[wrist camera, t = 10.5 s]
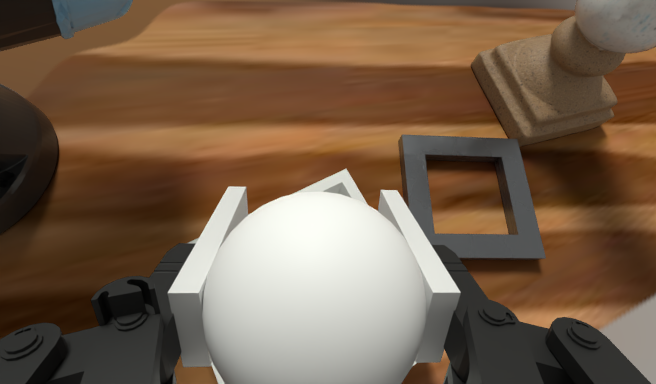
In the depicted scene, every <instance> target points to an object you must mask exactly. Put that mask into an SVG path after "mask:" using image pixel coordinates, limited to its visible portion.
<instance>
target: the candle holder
mask: <svg viewBox="0 0 656 384" xmlns="http://www.w3.org/2000/svg"><path fill="white" fill-rule="evenodd" d="M654 47H656V0H577V1H576V5H575V16H573V17H570V18H568V19H566V20H565V21H563V22H562V23H561V24H560V25H558V26H557V28H556V29H555V30H554V32H553V34H550V35H544V36H538V37H532V38H527V39H522V40H518V41H513V42H509V43H505V44H502V45H500V46H497V47H495V48H494V49H490V50H486V51H482V52H480V53H479V54H478V55H477V57H476V58H475V59H474V61H473V62H472V63H471V68H472V70H473V72H474V74H475V76H476V78H477V80H478V82H479V84H480V86H481V88H482V89H483V91H484V93H485V95H486V97H487V99H488V101H489V103H490V104H491V106H492V108H493V110H494V112H495V114H496V116H497V118H498V120H499V121H500V123H501V125H502V127H503V129H504V131H505V133H506V134H507V136H508V138H509V139H517V140H518V144H519V146H524V145H529V144H534V143H538V142H542V141H546V140H550V139H554V138H558V137H562V136H566V135H570V134H574V133H578V132H582V131H586V130H589V129H592V128H595V127H598V126H600V125H601V124H603V123H604V122H606V121H608V120H609V119H611V118H612V117H614V114H613V111H612V110H611V108H612V107H613V106H614V105H616V104H617V98H616V96H615V94H614V92H613V91H612V89H611V87H610V86H609V84H608V83H607V81H606V80H605V78H604V77H603V75H605V74H607V73H609V72H611V71H613V70H614V69H615V68H616V67H618V66H619V65H620V63H621V62H622V60H623V59H624V56H625V54H626V53H637V52H642V51H646V50H649V49H652V48H654Z"/></svg>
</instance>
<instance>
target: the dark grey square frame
mask: <svg viewBox="0 0 656 384" xmlns="http://www.w3.org/2000/svg"><path fill="white" fill-rule="evenodd" d="M398 142H399V153H400V164H401V175H402V186H403V197H404V202H405V204H406V205H407V207H408V209H409V210H410V212H411V213H412V215H413V217H414V218H415V220H416V221H417V223H418V225H419V226H420V228H421V229H422V231H423V233H424V234H425V236H426V237H427V239H428V241H429V242H430V244H431V245H445V246H446V247H448V248H449V249H450V250H452V251H453V252H455V253H456V255H457V256H458V257H459V259H460V260H539V259H544V258H546V257H545V253H544V249H543V245H542V240H541V236H540V232H539V228H538V224H537V220H536V215H535V211H534V207H533V203H532V199H531V194H530V190H529V186H528V182H527V178H526V173H525V169H524V165H523V161H522V157H521V152H520V148H519V144H518V140H517V139H503V138H476V137H450V136H423V135H402V136H401V137H400V139H399V141H398ZM426 160H438V161H470V162H494V163H495V168H496V173H497V177H498V182H499V187H500V192H501V197H502V202H503V207H504V212H505V217H506V221H507V226H508V231H509V235H498V234H435V233H434V225H433V217H432V208H431V200H430V192H429V184H428V176H427V167H426Z"/></svg>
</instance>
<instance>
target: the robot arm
mask: <svg viewBox="0 0 656 384" xmlns="http://www.w3.org/2000/svg"><path fill="white" fill-rule="evenodd" d="M132 1H133V0H0V51H4V50H7V49H12V48H15V47H19V46H23V45H27V44H31V43H34V42H38V41H42V40H46V39H50V38H54V37H57V36H62V37H63V38H64V39H69V38H71V37H73V36H74V33H75V32H77V31H80V30H83V29H87V28H90V27H93V26H96V25H99V24H102V23H105V22H109V21H112V20H115V19H118V18H120V17H122V16H123V15H124V14H126V13H127V12H128V10H129V9H130V7H131V4H132ZM57 155H58V144H57V138H56V134H55V131H54V128H53V126H52V124H51V122H50V121H49V119H48V118H47V117H46V115H45V114H44V113H43V112H42V111H41V110H39V109H38V108H37V107H36V106H34V105H33V104H32V103H30V102H29V101H27V100H26V99H25V98H23V97H22V96H21V95H19V94H18V93H16V92H15V91H13V90H11V89H9V88H8V87H5V86H4V85H1V84H0V234H1V233H2V232H4V231H6V230H7V229H8V228H10V227H11V226H12V225H14V224H15V223H16V222H17V221H19V220H20V219H21V218H22V217H23V216H24V215H25V214H26V213H27V212H28V211H29V210H30V209H31V208H32V207H33V206H34V205H35V203H36V202H37V201H38V200H39V198H40V197H41V195H42V194H43V192H44V191H45V189H46V188H47V186H48V184H49V182H50V180H51V178H52V175H53V173H54V170H55V166H56V162H57ZM378 212H379V213H380V214H382V215H383V216H384V217H385V218H387V219H388V220H389V221H390V222H391V223H392V224H393V225H394V226H395V227H396V229H397V230H398V231H399V232H400V233H401V234H402V236H403V237H404V238H405V240H406V241H407V243H408V245H409V247H410V248H411V250H412V252H413V254H414V255H415V258H416V260H417V263H418V266H419V269H420V271H421V274H422V277H423V283H424V289H425V295H426V322H425V327H424V332H423V338H422V343H421V346H420V349H419V351H418V354H417V356H416V359H415V362H416V363H424V362H440V361H441V358H442V355H443V351H444V349H445V351H446V353H447V356H448V358H449V360H450V364H449V367H448V370H447V373H446V376H445V379H444V383H443V384H651V383H650V382H649V381H648V380H647V379H646V378H645V377H644V376H643V375H642V374H641V372H640V371H639V370H638V369H637V368H636V367H635V366H634V365H633V364H632V363H631V362H630V361H629V360H628V359H627V358H626V357H625V356H624V355H623V354H622V353H621V352H620V350H619V349H618V348H617V347H616V346H615V345H614V344H613V343H612V342H611V341H610V340H609V339H608V338H607V337H606V336H605V335H603V334H602V333H601V332H600V331H599V330H597V329H595V328H594V327H592V326H590V325H589V324H587V323H584V322H582V321H579V320H577V319H573V318H567V317H562V318H557V319H555V320H554V321H553V322H552V324H551V326H550V328H549V329H548V328H543V327H539V326H535V325H531V324H527V323H523V322H520V321H519V320H518V319H517V317H516V316H515V314H514V313H512V312H511V311H510V310H509V309H508V308H507V307H505V306H503V305H501V304H499V303H498V302H494V301H491V300H489V299H488V298H487V297H486V295H485V294H484V292H483V291H482V290H481V288H480V287H479V285H478V284H477V283H476V281H475V280H474V278H473V277H472V276H471V274H470V273H469V272H468V270H467V269H466V267H465V266H464V264H462V262H461V260H460V259H459V257H458V256H457V255H456V253H455V252H453V251H452V250H450V249H449V248H448V247H446V246H445V245H431V244H430V242H429V241H428V239H427V237H426V236H425V234H424V233H423V231H422V229H421V228H420V226H419V225H418V223H417V221H416V220H415V218H414V217H413V215H412V213H411V212H410V210H409V209H408V207H407V205H406V204H405V202H404V201H403V199H402V197H401V196H400V194H399V192H398V191H397V190H381V192H380V200H379V207H378ZM247 216H248V208H247V192H246V187H228V188H227V190H226V192H225V194H224V195H223V197H222V199H221V201H220V202H219V204H218V206H217V208H216V209H215V211H214V213H213V215H212V216H211V218H210V220H209V222H208V223H207V225H206V227H205V229H204V230H203V232H202V234H201V236H200V237H199V239H198V241H197V243H179V244H177V245H176V246H175V247H173V248H172V249H170V250H169V251H168V252H167V253H166V254H165V256H164V257H163V259H162V260H161V261H160V264H158V266H157V267H156V269H155V270H154V273H152V274H151V276H150V277H149V278H147V277H142V276H130V277H126V278H122V279H118V280H116V281H113V282H111V283H109V284H107V285H105V286H104V287H103V288H101V289H100V290H99V291H98V292H96V294H95V295H94V296H93V298H92V299H91V303H92V306H93V308H94V311H95V314H96V317H97V320H98V323H99V326H97V327H94V328H91V329H87V330H82V331H78V332H74V333H70V334H66V335H63V334H62V332H61V330H60V328H59V327H58V326H56V325H55V324H52V323H39V324H34V325H29V326H27V327H24V328H21V329H19V330H16V331H14V332H12V333H11V334H9V335H7V336H5V337H4V338H2V339H1V340H0V384H176V377H175V372H174V368H175V366H176V364H177V361H178V359H179V356H180V354H181V359H182V364H183V367H210V366H211V363H212V359H211V356H210V353H209V350H208V347H207V344H206V341H205V335H204V327H203V319H202V309H203V293H204V289H205V285H206V281H207V277H208V273H209V269H210V267H211V265H212V263H213V261H214V258H215V256H216V254H217V252H218V250H219V248H220V247H221V245H222V244H223V243H224V241H225V240H226V238H227V237H228V235H229V234H230V233H231V231H232V230H233V229H234V228H235V227H236V226H237V225H238V224H239V223H240V222H241V221H242V220H243V219H244V218H245V217H247Z"/></svg>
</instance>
